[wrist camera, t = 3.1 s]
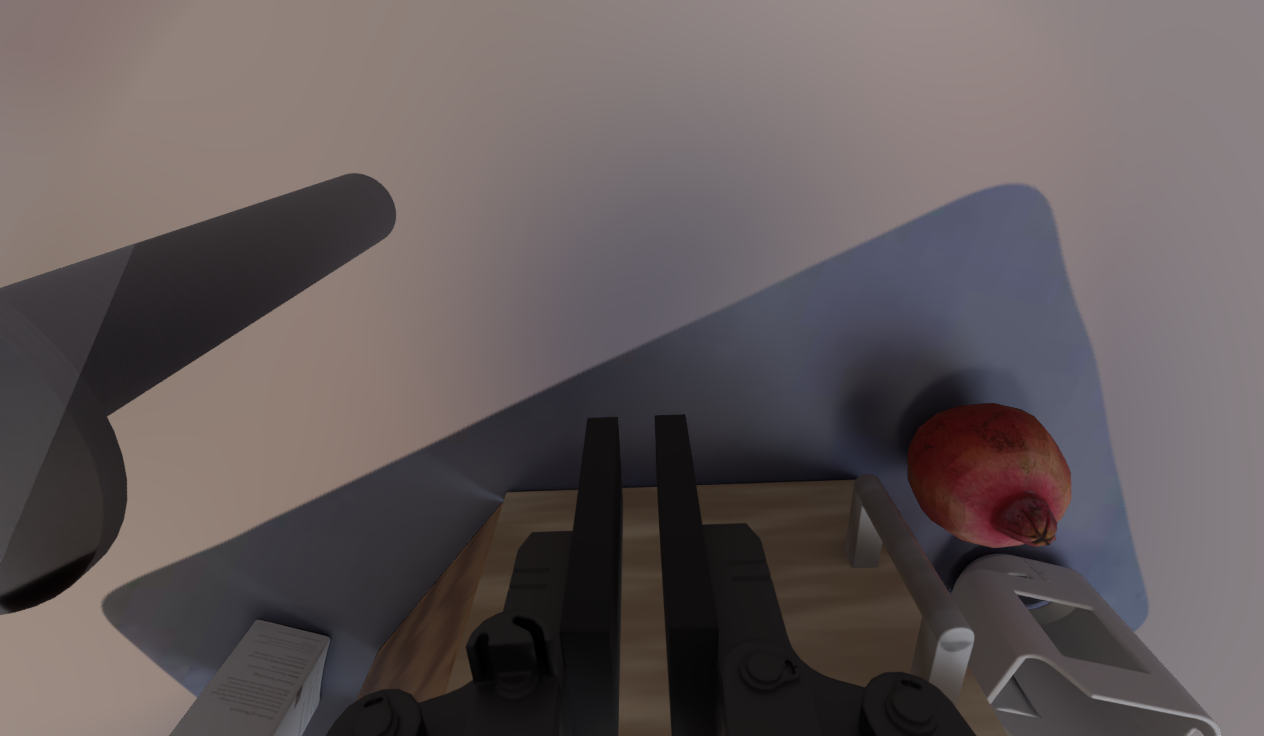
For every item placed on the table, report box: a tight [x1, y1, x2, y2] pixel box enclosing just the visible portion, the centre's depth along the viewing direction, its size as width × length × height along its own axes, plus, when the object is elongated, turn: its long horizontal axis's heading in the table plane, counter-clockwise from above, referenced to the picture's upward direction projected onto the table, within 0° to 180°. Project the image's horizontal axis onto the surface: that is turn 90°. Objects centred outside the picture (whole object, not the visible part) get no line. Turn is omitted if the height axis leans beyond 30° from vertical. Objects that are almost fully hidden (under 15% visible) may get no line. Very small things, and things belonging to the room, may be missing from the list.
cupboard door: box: [445, 474, 1008, 736], centre depth 29 cm, size 6×24×23 cm, turn 93°
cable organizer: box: [950, 554, 1221, 736], centre depth 39 cm, size 7×12×12 cm, turn 75°
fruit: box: [908, 403, 1071, 548], centre depth 35 cm, size 8×8×10 cm
